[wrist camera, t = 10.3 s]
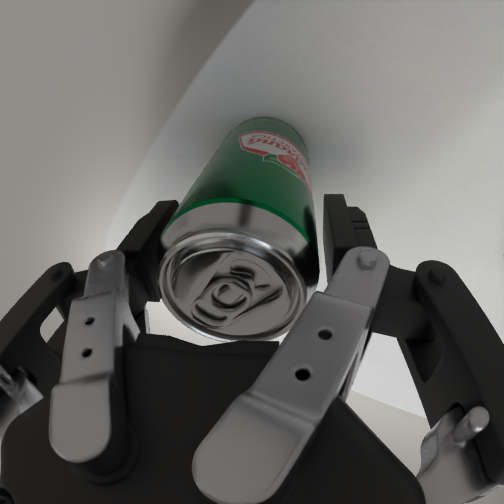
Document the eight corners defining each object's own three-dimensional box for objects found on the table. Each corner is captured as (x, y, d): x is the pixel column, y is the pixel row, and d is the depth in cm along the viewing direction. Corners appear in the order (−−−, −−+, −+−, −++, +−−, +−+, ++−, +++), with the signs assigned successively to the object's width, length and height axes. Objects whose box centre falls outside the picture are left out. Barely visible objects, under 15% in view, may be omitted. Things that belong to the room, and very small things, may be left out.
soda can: (324, 153, 18) (359, 296, 8) (270, 207, 20) (245, 368, 11) (259, 98, 16) (204, 177, 7) (208, 160, 19) (120, 295, 9)
